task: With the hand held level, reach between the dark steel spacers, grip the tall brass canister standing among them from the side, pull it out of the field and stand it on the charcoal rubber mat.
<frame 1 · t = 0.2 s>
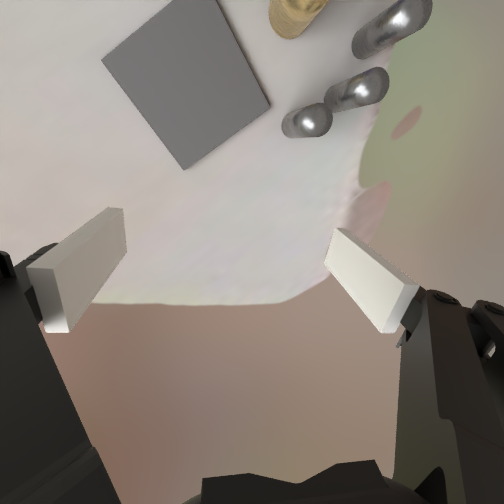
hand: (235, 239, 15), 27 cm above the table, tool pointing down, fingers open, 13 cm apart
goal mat: (192, 86, 34), on the table
brass canister: (289, 12, 32), on the table
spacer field: (289, 12, 32), on the table
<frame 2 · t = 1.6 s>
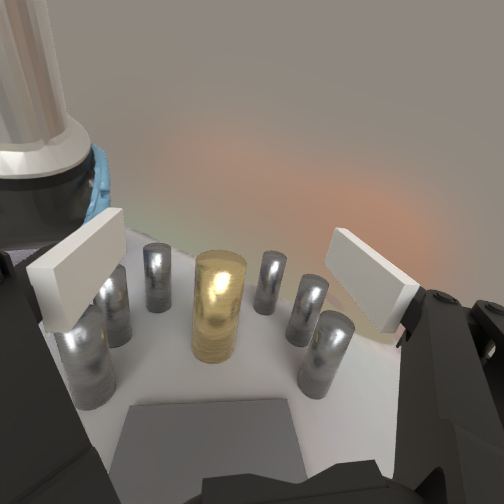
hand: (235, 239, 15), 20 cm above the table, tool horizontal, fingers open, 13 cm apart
brass canister: (213, 345, 32), on the table
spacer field: (213, 345, 32), on the table
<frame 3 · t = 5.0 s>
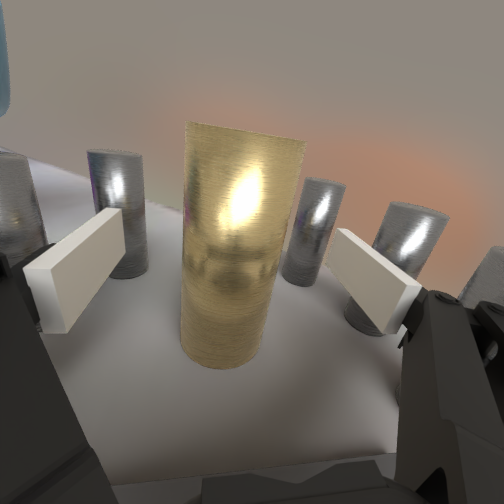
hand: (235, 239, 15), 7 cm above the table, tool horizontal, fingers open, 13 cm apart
brass canister: (221, 334, 17), on the table
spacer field: (221, 333, 17), on the table
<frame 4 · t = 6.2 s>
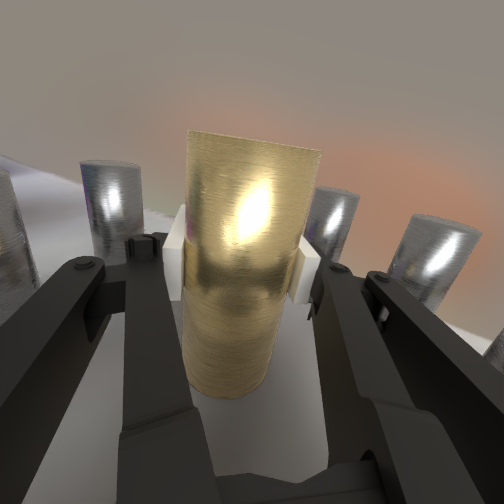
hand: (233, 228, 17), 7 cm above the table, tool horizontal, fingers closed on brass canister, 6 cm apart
brass canister: (226, 356, 16), on the table, touching gripper
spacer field: (226, 362, 15), on the table
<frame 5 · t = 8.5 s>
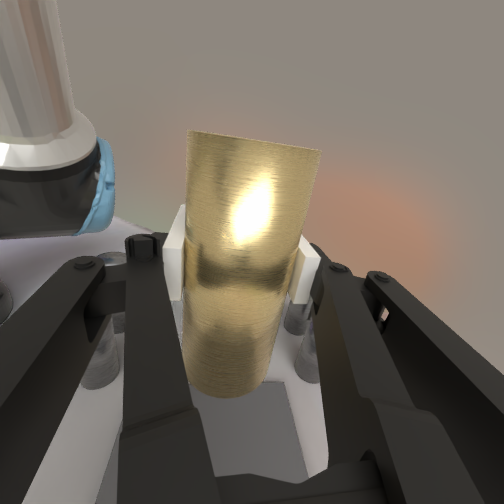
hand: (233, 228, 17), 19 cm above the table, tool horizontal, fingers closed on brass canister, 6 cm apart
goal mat: (210, 484, 19), on the table
brass canister: (226, 356, 16), point 12 cm above the table, touching gripper
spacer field: (213, 333, 33), on the table
when the fingers open (9 cm above the table, at t = 10.8 s): brass canister drops 1 cm, resting on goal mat.
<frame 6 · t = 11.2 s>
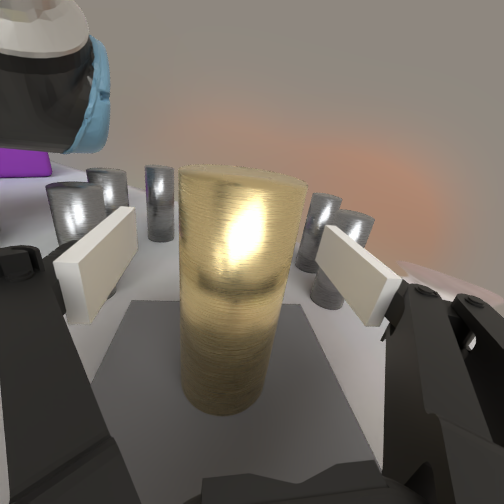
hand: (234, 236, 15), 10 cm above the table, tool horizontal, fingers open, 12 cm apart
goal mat: (223, 386, 16), on the table
brass canister: (223, 372, 16), point 1 cm above the table, touching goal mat
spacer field: (219, 267, 30), on the table
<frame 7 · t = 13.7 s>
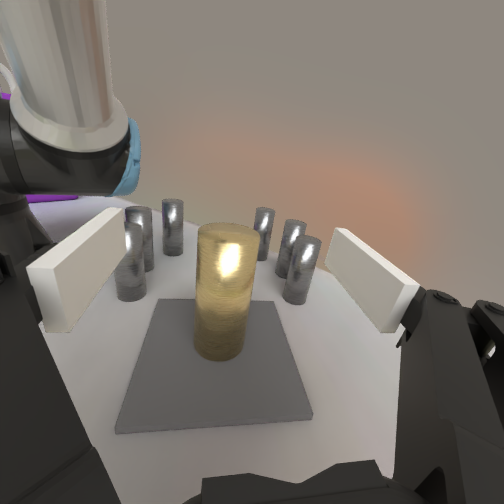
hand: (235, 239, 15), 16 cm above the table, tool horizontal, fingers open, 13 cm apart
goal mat: (219, 349, 27), on the table
brass canister: (219, 340, 27), point 1 cm above the table, touching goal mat
shopping bag: (12, 197, 64), on the table
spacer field: (217, 275, 41), on the table
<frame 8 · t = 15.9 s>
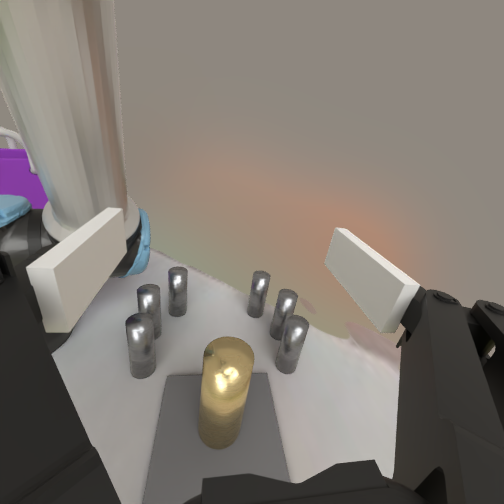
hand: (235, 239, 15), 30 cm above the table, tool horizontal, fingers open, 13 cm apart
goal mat: (219, 432, 32), on the table
brass canister: (219, 425, 32), point 1 cm above the table, touching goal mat
shopping bag: (26, 243, 68), on the table
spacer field: (217, 339, 46), on the table
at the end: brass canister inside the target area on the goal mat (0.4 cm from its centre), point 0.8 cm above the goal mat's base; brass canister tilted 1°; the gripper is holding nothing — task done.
